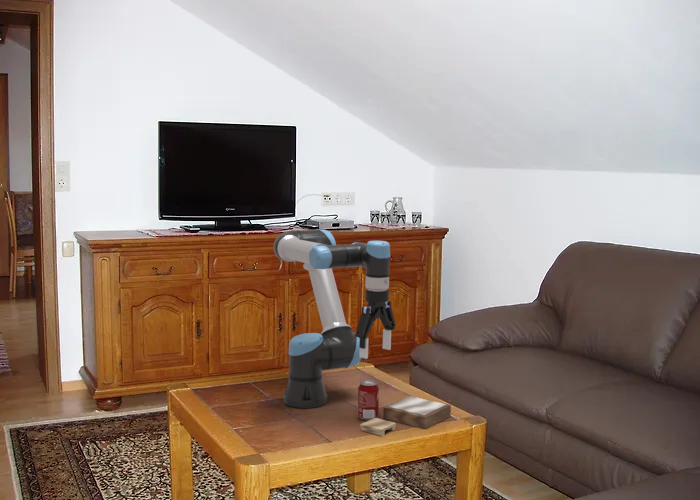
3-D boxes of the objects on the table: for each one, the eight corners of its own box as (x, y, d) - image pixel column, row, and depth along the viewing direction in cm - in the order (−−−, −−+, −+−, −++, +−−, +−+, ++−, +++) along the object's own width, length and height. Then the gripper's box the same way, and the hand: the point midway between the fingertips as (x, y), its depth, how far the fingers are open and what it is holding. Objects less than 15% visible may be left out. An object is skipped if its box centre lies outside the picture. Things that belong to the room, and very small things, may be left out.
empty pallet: (360, 430, 240) (360, 424, 240) (375, 423, 246) (375, 417, 246) (381, 436, 235) (381, 429, 235) (395, 429, 242) (395, 423, 241)
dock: (383, 418, 252) (383, 406, 251) (409, 406, 264) (410, 394, 264) (424, 428, 242) (425, 416, 242) (450, 415, 255) (450, 404, 254)
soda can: (376, 422, 248) (377, 386, 246) (355, 420, 249) (356, 384, 248) (379, 415, 254) (380, 380, 253) (359, 413, 256) (360, 378, 254)
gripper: (365, 296, 234) (363, 363, 237) (407, 285, 255) (405, 347, 258) (345, 293, 239) (343, 359, 242) (388, 282, 259) (386, 343, 262)
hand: (375, 353), depth 250 cm, fingers open, 13 cm apart
